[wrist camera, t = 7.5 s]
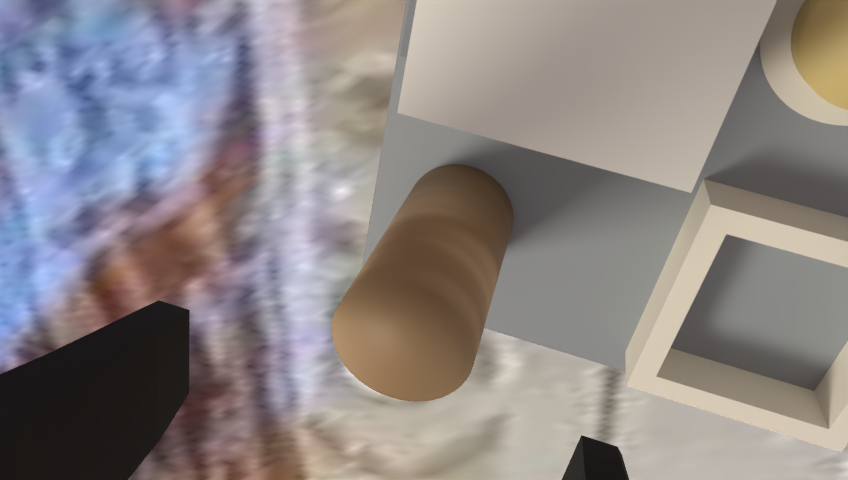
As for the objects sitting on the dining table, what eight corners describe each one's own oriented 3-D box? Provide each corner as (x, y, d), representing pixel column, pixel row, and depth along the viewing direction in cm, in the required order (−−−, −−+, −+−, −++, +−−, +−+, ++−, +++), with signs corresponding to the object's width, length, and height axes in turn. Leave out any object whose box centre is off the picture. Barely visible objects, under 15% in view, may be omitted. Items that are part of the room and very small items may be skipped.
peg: (526, 181, 18) (490, 306, 13) (498, 273, 19) (457, 418, 14) (418, 151, 18) (340, 261, 13) (399, 244, 20) (324, 375, 15)
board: (1386, -67, 13) (1560, -53, 10) (948, 444, 20) (992, 519, 17) (462, -255, 15) (433, -279, 12) (370, 269, 22) (341, 316, 19)
